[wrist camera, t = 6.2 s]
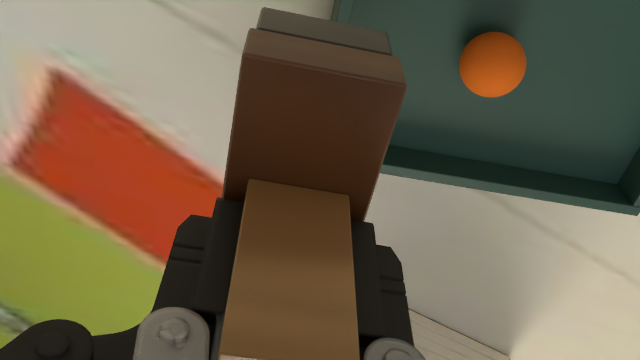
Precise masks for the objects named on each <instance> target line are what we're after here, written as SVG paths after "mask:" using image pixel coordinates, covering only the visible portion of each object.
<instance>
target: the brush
mask: <svg viewBox="0 0 640 360" xmlns="http://www.w3.org/2000/svg"><path fill="white" fill-rule="evenodd" d="M406 89H407V83H406V79H405V75H404V72H403V68H402V64H401V61H400V58H398V57H394V56H393V54H392V50H391V46H390V42H389V38H388V34H387V33H386V32H383V31H378V30H373V29H368V28H363V27H359V26H354V25H349V24H344V23H339V22H334V21H329V20H324V19H319V18H314V17H310V16H305V15H300V14H295V13H290V12H285V11H280V10H275V9H270V8H265V7H264V8H262V9H261V11H260V15H259V19H258V23H257V27H256V29H254V28H250V29H249V31H248V35H247V39H246V42H245V46H244V50H243V53H242V59H241V66H240V73H239V80H238V87H237V94H236V101H235V108H234V115H233V122H232V129H231V136H230V143H229V150H228V157H227V164H226V171H225V178H224V185H223V192H222V198H225V199H231V200H237V201H243V202H244V207H243V213H242V219H241V224H240V230H239V236H238V242H237V247H236V253H235V259H234V265H233V270H232V276H231V282H230V287H229V293H228V299H227V305H226V310H225V316H224V322H223V327H222V333H221V339H220V345H219V350H218V356H217V360H360V354H359V339H358V324H357V308H356V293H355V278H354V263H353V248H352V232H351V220H356V221H362V222H364V220H365V217H366V214H367V210H368V207H369V204H370V201H371V198H372V195H373V192H374V189H375V186H376V183H377V179H378V176H379V173H380V170H381V167H382V164H383V161H384V158H385V155H386V151H387V148H388V145H389V142H390V139H391V136H392V133H393V130H394V127H395V124H396V120H397V117H398V114H399V111H400V108H401V105H402V102H403V99H404V96H405V92H406Z"/></svg>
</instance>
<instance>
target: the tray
mask: <svg viewBox="0 0 640 360" xmlns="http://www.w3.org/2000/svg"><path fill="white" fill-rule="evenodd" d="M331 21H334V22H339V23H344V24H349V25H354V26H359V27H363V28H368V29H373V30H378V31H383V32H386V33H387V34H388V38H389V42H390V46H391V50H392V54H393V56H394V57H398V58H400V61H401V64H402V68H403V72H404V75H405V79H406V83H407V89H406V92H405V96H404V99H403V102H402V105H401V108H400V111H399V114H398V117H397V120H396V124H395V127H394V130H393V133H392V136H391V139H390V142H389V145H388V148H387V151H386V155H385V158H384V161H383V164H382V167H381V170H380V173H382V174H388V175H394V176H400V177H406V178H412V179H418V180H424V181H430V182H436V183H442V184H448V185H454V186H460V187H466V188H472V189H478V190H484V191H490V192H496V193H502V194H508V195H514V196H521V197H527V198H533V199H539V200H545V201H551V202H557V203H563V204H569V205H575V206H581V207H587V208H593V209H599V210H605V211H611V212H617V213H623V214H629V215H635V216H637V215H638V214H639V213H640V0H335V2H334V7H333V11H332V16H331ZM487 32H502V33H506V34H508V35H510V36H512V37H513V38H515V39H516V40H517V41H518V42H519V43H520V44H521V46H522V48H523V50H524V52H525V56H526V70H525V74H524V76H523V78H522V80H521V82H520V83H519V84H518V86H517V87H516V88H515V89H513V90H512V91H511V92H509V93H507V94H505V95H503V96H499V97H483V96H480V95H477V94H475V93H473V92H472V91H471V90H469V89H468V88H467V87H466V85H465V84H464V82H463V81H462V78H461V75H460V71H459V61H460V57H461V54H462V52H463V50H464V48H465V47H466V45H467V44H468V43H469V42H470V41H471V40H472V39H474V38H475V37H477V36H479V35H481V34H483V33H487Z"/></svg>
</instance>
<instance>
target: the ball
mask: <svg viewBox="0 0 640 360" xmlns="http://www.w3.org/2000/svg"><path fill="white" fill-rule="evenodd" d="M525 70H526V56H525V52H524V50H523V48H522V46H521V44H520V43H519V42H518V41H517V40H516V39H515V38H513V37H512V36H510V35H508V34H506V33H502V32H487V33H483V34H481V35H479V36H477V37H475V38H474V39H472V40H471V41H470V42H469V43H468V44H467V45H466V47H465V48H464V50H463V52H462V54H461V57H460V61H459V71H460V75H461V78H462V81H463V82H464V84H465V85H466V87H467V88H468V89H469V90H471V91H472V92H473V93H475V94H477V95H480V96H483V97H499V96H503V95H505V94H507V93H509V92H511V91H512V90H513V89H515V88H516V87H517V86H518V84H519V83H520V82H521V80H522V78H523V76H524V74H525Z"/></svg>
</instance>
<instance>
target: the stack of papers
mask: <svg viewBox="0 0 640 360" xmlns="http://www.w3.org/2000/svg"><path fill="white" fill-rule="evenodd" d="M409 316H410V322H411V328H412V335H413V341H414V346H415V348H416V349H417V350H418V351H419V352H420V353H421V354H422V355H423V356H424V358H425V360H511V358H510V357H508V356H506V355H504V354H502V353H500V352H497V351H495V350H493V349H491V348H489V347H487V346H485V345H483V344H481V343H478V342H476V341H474V340H472V339H470V338H468V337H466V336H464V335H462V334H459V333H457V332H455V331H453V330H451V329H449V328H447V327H445V326H443V325H440V324H438V323H436V322H434V321H432V320H430V319H428V318H426V317H424V316H422V315H419V314H417V313H415V312H413V311H411V310H409Z"/></svg>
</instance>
